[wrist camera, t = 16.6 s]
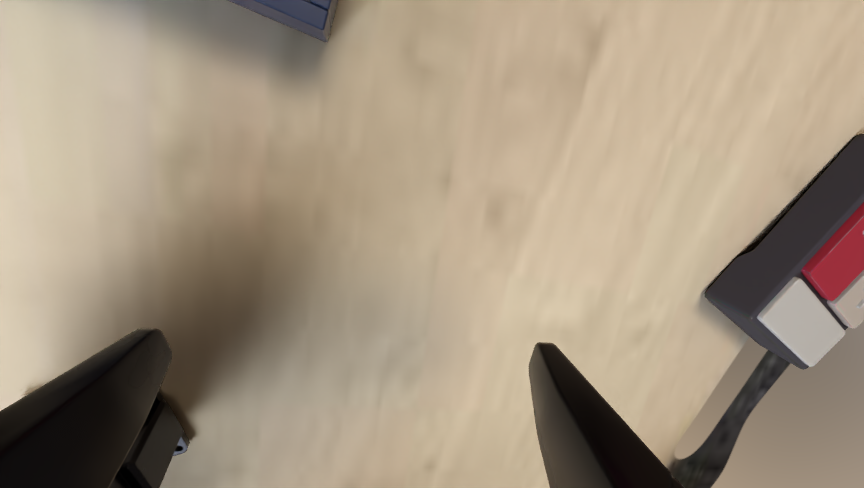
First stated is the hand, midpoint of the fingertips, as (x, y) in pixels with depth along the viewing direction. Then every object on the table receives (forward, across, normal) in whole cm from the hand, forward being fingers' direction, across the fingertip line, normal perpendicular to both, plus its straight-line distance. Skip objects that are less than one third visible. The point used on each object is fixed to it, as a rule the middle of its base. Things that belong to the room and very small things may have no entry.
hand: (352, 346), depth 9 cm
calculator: (+18, -32, +8) cm, 38 cm away
